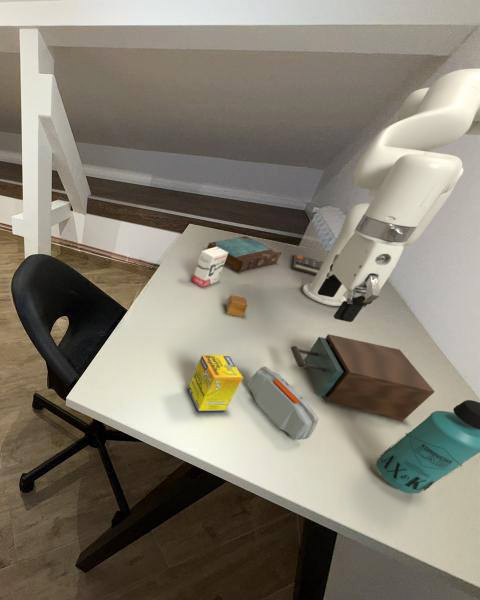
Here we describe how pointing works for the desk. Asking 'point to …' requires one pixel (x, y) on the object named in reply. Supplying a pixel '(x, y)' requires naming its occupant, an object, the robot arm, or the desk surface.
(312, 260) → the calculator
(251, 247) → the book
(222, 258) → the ink box
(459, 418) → the beverage bottle
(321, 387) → the drawer
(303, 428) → the gray case
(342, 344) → the cabinet
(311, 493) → the desk surface
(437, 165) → the robot arm
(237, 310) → the block
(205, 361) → the supplement box
